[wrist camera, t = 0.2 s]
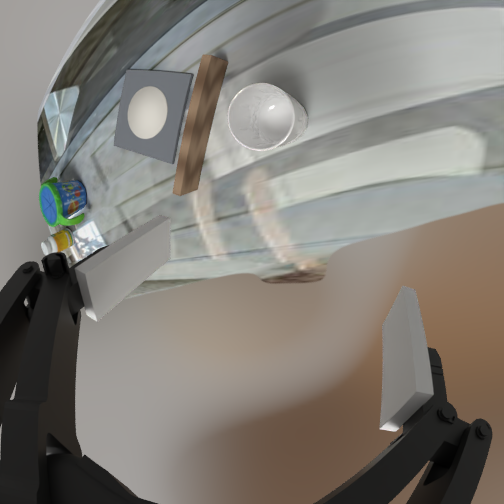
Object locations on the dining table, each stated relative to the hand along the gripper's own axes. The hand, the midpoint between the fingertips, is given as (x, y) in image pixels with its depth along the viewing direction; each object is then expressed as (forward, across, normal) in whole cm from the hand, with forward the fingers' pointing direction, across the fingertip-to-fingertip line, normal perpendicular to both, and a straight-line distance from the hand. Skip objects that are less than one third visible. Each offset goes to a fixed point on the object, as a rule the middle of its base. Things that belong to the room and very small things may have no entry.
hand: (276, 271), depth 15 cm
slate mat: (+29, -33, +5) cm, 44 cm away
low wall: (+29, -20, +4) cm, 35 cm away
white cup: (+28, -7, +6) cm, 30 cm away
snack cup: (+30, -56, -15) cm, 66 cm away
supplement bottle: (+30, -64, -29) cm, 76 cm away
